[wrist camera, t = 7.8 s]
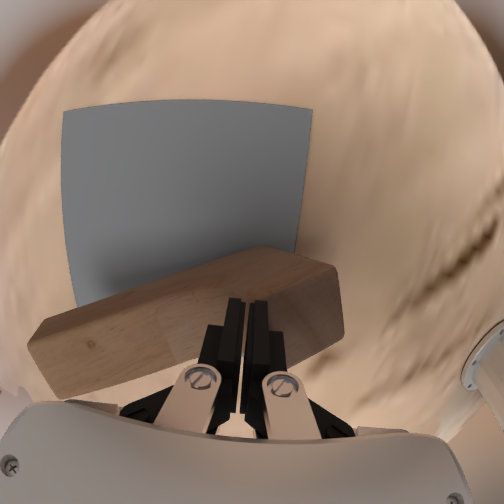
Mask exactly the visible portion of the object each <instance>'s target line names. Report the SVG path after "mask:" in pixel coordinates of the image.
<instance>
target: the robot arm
mask: <svg viewBox="0 0 504 504" xmlns="http://www.w3.org/2000/svg"><path fill="white" fill-rule="evenodd" d="M245 308H246V302H241V298H231V297H229V300H228V305H227V310H226V316H225V321H224V326H219V325H211V324H208V326H207V330H206V333H205V337H204V341H203V345H202V348H201V352H200V356H199V360H198V363H197V364H193V365H190V366H188V367H186V368H185V369H184V370H183V371H182V372H181V374H180V375H179V377H178V379H177V381H176V383H175V385H173V386H170V387H168V388H166V389H164V390H161V391H159V392H157V393H154V394H152V395H149V396H147V397H145V398H142V399H140V400H137V401H135V402H132V403H130V404H128V405H126V406H124V407H118V404H108V403H99V402H90V401H83V400H76V399H69V400H66V401H64V402H62V401H40V402H35V403H32V404H30V405H28V406H27V407H26V408H24V409H23V410H22V411H21V412H20V413H19V415H18V416H17V417H16V418H15V419H14V421H13V422H12V423H11V425H10V426H9V428H8V429H7V431H6V432H5V434H4V435H3V437H2V439H1V441H0V504H474V501H473V498H472V495H471V492H470V489H469V486H468V483H467V480H466V478H465V475H464V473H463V471H462V468H461V466H460V464H459V462H458V460H457V458H456V456H455V454H454V453H453V451H452V450H451V448H450V447H449V446H448V444H447V443H446V442H444V441H443V440H442V439H440V438H438V437H435V436H431V435H426V434H420V433H409V432H408V431H406V430H402V429H386V428H372V427H360V426H358V427H357V429H355V428H352V427H351V426H350V425H348V424H347V423H346V422H344V421H342V420H341V419H339V418H338V417H336V416H335V415H333V414H331V413H330V412H328V411H327V410H325V409H324V408H322V407H321V406H319V405H318V404H316V403H315V402H313V401H312V400H310V399H309V398H307V395H306V392H305V389H304V386H303V384H302V382H301V380H300V379H299V378H298V377H297V376H295V375H293V374H292V373H288V372H287V365H286V355H285V345H284V335H283V332H282V331H271V330H269V328H268V302H267V301H262V300H255V303H250V305H249V314H248V323H247V333H246V342H245V351H244V363H243V376H242V389H241V403H240V413H241V414H245V420H244V421H246V422H247V423H248V424H249V425H250V426H251V427H253V436H254V439H253V438H240V437H229V436H220V435H218V432H219V428H220V425H221V424H223V423H225V422H226V421H228V420H229V418H230V413H236V403H237V393H238V384H239V374H240V364H241V353H242V342H243V331H244V319H245ZM461 382H462V384H463V386H464V388H465V389H466V390H477V389H478V390H479V391H480V393H481V394H482V396H483V398H484V399H485V401H486V403H487V404H488V406H489V408H490V409H491V411H492V413H493V414H494V416H495V418H496V419H497V421H498V423H499V425H500V427H501V428H502V430H503V432H504V321H503V322H501V323H500V324H498V325H497V326H496V327H494V328H493V329H492V330H491V331H490V332H489V333H488V334H487V335H486V336H485V337H484V338H483V339H482V340H481V342H480V343H479V344H478V345H477V346H476V348H475V349H474V351H473V352H472V353H471V355H470V357H469V358H468V360H467V362H466V364H465V366H464V369H463V371H462V375H461Z"/></svg>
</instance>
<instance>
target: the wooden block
mask: <svg viewBox="0 0 504 504" xmlns="http://www.w3.org/2000/svg"><path fill="white" fill-rule="evenodd" d="M229 297H231V298H241V302H246V308H245V319H244V331H243V342H242V353H241V354H244V351H245V342H246V333H247V323H248V314H249V305H250V303H255V300H262V301H267V302H268V328H269V330H271V331H282V332H283V335H284V345H285V355H286V365H287V369H288V368H290V367H292V366H294V365H296V364H298V363H300V362H302V361H303V360H305V359H307V358H309V357H311V356H313V355H315V354H316V353H318V352H320V351H322V350H324V349H325V348H327V347H329V346H331V345H332V344H334V343H336V342H338V341H339V340H341V339H342V338H343V337H344V333H345V332H344V322H343V313H342V304H341V296H340V288H339V280H338V273H337V270H336V268H335V267H334V266H333V265H329V264H326V263H323V262H319V261H316V260H312V259H309V258H306V257H302V256H299V255H295V254H292V253H288V252H285V251H281V250H278V249H275V248H271V247H268V246H264V245H259V246H256V247H253V248H250V249H247V250H244V251H241V252H238V253H235V254H232V255H229V256H226V257H223V258H220V259H217V260H214V261H211V262H208V263H205V264H202V265H199V266H196V267H194V268H191V269H188V270H185V271H182V272H179V273H176V274H173V275H170V276H168V277H165V278H162V279H159V280H156V281H153V282H150V283H147V284H145V285H142V286H139V287H136V288H133V289H130V290H127V291H124V292H121V293H118V294H116V295H113V296H110V297H107V298H104V299H101V300H98V301H95V302H93V303H90V304H87V305H84V306H81V307H78V308H75V309H72V310H70V311H67V312H64V313H61V314H58V315H55V316H52V317H50V318H47V319H45V320H44V321H43V322H42V323H41V325H40V326H39V327H38V329H37V330H36V332H35V333H34V334H33V336H32V337H31V339H30V340H29V342H28V343H27V347H28V350H29V352H30V354H31V356H32V357H33V359H34V361H35V363H36V365H37V366H38V368H39V370H40V371H41V373H42V375H43V376H44V378H45V380H46V381H47V383H48V384H49V386H50V387H51V389H52V390H53V392H54V393H55V395H56V396H57V398H59V399H67V398H71V397H74V396H78V395H82V394H86V393H90V392H93V391H97V390H100V389H104V388H107V387H111V386H114V385H117V384H121V383H124V382H127V381H130V380H133V379H136V378H140V377H143V376H146V375H149V374H152V373H155V372H158V371H160V370H163V369H166V368H169V367H172V366H175V365H177V364H180V363H183V362H186V361H188V360H191V359H195V358H199V356H200V352H201V348H202V345H203V341H204V337H205V333H206V330H207V326H208V324H211V325H219V326H224V321H225V316H226V310H227V305H228V300H229Z"/></svg>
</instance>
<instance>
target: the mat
mask: <svg viewBox="0 0 504 504" xmlns="http://www.w3.org/2000/svg"><path fill="white" fill-rule="evenodd" d="M312 111H313V110H311V109H305V108H298V107H291V106H283V105H275V104H265V103H255V102H241V101H224V100H160V101H142V102H129V103H119V104H110V105H102V106H95V107H88V108H82V109H76V110H70V111H65V112H64V113H63V124H62V141H61V194H62V211H63V223H64V233H65V242H66V250H67V257H68V263H69V269H70V275H71V280H72V286H73V291H74V295H75V300H76V304H77V308H78V307H81V306H84V305H87V304H90V303H93V302H95V301H98V300H101V299H104V298H107V297H110V296H113V295H116V294H118V293H121V292H124V291H127V290H130V289H133V288H136V287H139V286H142V285H145V284H147V283H150V282H153V281H156V280H159V279H162V278H165V277H168V276H170V275H173V274H176V273H179V272H182V271H185V270H188V269H191V268H194V267H196V266H199V265H202V264H205V263H208V262H211V261H214V260H217V259H220V258H223V257H226V256H229V255H232V254H235V253H238V252H241V251H244V250H247V249H250V248H253V247H256V246H259V245H264V246H268V247H271V248H275V249H278V250H281V251H285V252H288V253H292V254H294V250H295V243H296V237H297V230H298V223H299V217H300V210H301V203H302V195H303V188H304V180H305V173H306V165H307V156H308V148H309V139H310V130H311V121H312ZM241 356H244V354H241Z"/></svg>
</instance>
